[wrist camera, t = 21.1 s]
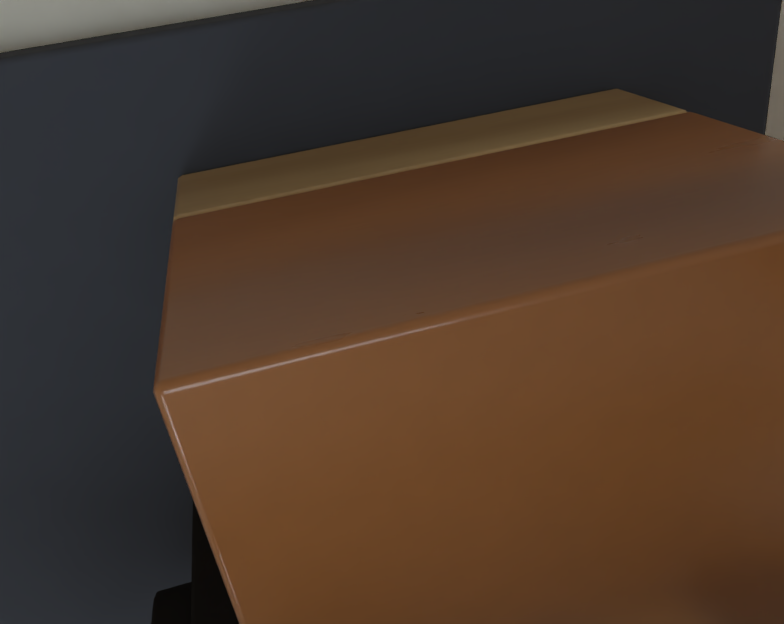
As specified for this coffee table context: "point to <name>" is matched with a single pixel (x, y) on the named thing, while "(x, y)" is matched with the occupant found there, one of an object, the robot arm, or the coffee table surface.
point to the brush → (488, 371)
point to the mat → (225, 148)
